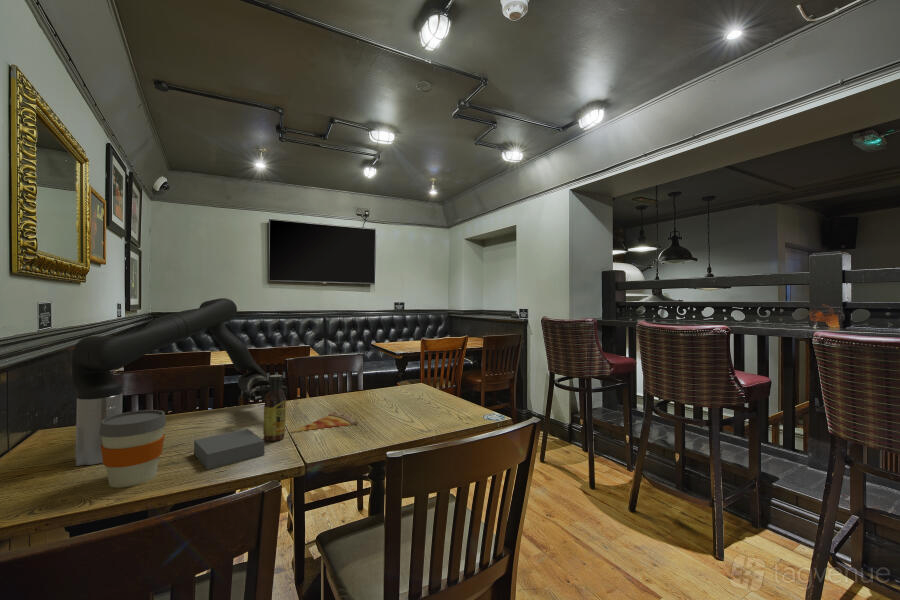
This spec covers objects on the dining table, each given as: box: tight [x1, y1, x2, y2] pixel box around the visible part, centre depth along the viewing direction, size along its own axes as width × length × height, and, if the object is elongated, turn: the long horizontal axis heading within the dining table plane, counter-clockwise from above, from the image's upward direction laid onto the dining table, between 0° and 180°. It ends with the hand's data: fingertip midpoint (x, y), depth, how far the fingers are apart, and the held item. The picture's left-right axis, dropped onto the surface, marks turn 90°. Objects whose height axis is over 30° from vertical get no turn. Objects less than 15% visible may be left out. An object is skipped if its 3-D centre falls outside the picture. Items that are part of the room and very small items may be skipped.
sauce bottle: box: [263, 374, 287, 442], centre depth 121 cm, size 7×6×20 cm
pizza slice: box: [290, 411, 359, 434], centre depth 138 cm, size 16×22×2 cm
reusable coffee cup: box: [99, 409, 167, 488], centre depth 94 cm, size 13×13×15 cm
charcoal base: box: [193, 428, 265, 471], centre depth 109 cm, size 14×14×4 cm
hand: (268, 396), depth 130 cm, fingers open, 8 cm apart
